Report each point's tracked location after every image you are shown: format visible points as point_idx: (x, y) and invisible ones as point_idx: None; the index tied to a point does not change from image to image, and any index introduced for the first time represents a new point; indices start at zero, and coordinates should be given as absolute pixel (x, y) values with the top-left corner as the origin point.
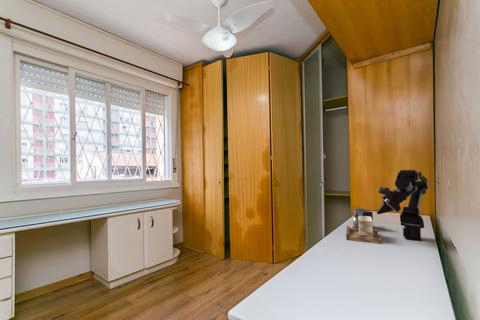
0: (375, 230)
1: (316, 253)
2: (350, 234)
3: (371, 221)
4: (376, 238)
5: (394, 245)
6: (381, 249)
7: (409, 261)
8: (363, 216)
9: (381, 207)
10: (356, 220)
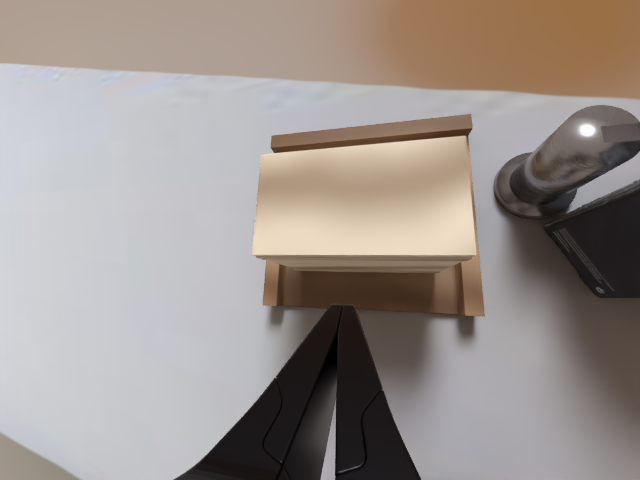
0: (468, 301)
1: (118, 91)
2: None
3: (253, 246)
4: (272, 284)
5: (263, 368)
6: (194, 294)
7: (94, 375)
8: (448, 182)
9: (266, 394)
10: (549, 150)
